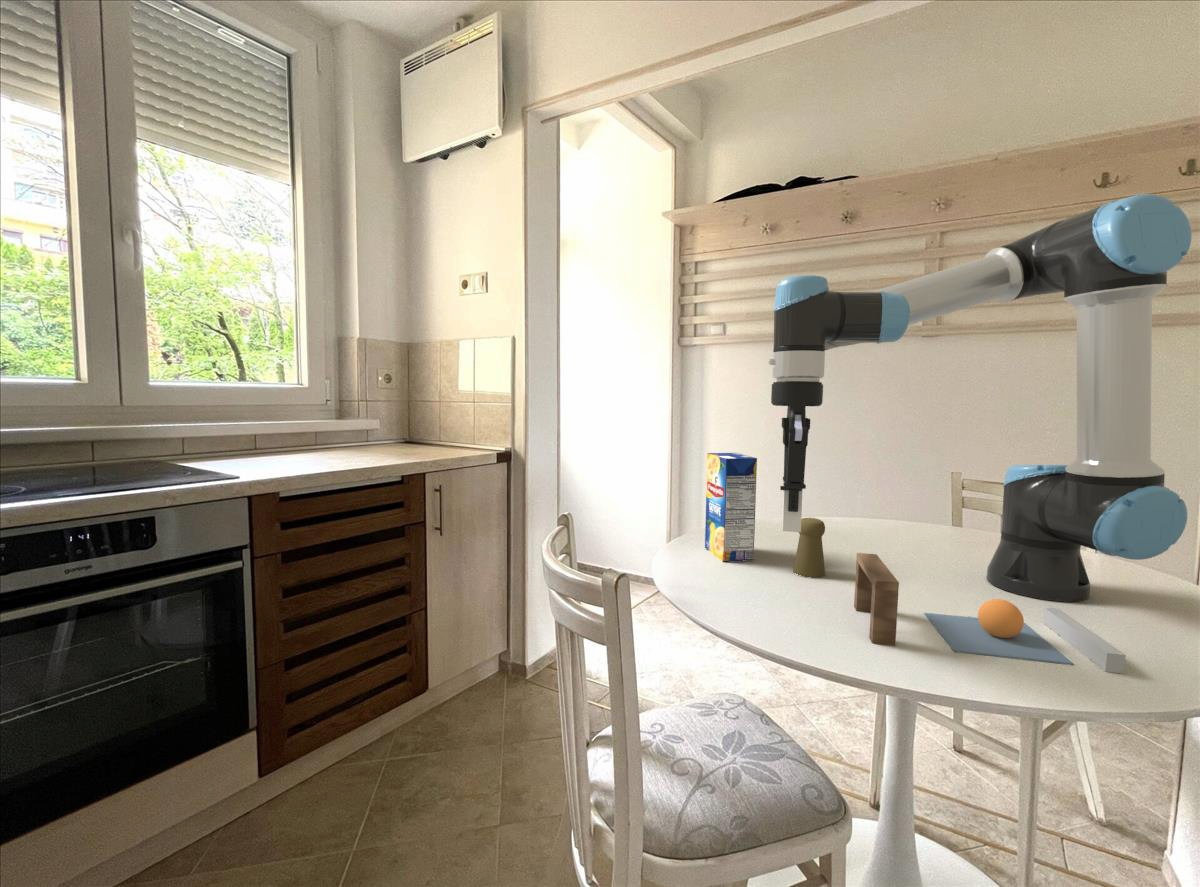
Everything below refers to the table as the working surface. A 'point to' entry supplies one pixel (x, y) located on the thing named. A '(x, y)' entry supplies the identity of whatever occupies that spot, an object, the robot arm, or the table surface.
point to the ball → (1000, 618)
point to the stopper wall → (1085, 641)
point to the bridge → (877, 597)
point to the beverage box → (730, 506)
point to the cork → (810, 549)
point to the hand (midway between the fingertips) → (791, 530)
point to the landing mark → (994, 640)
